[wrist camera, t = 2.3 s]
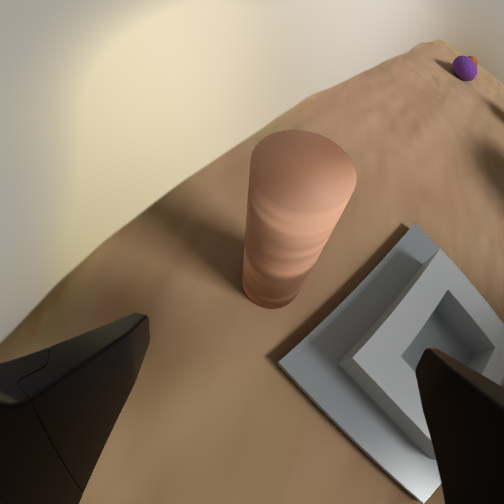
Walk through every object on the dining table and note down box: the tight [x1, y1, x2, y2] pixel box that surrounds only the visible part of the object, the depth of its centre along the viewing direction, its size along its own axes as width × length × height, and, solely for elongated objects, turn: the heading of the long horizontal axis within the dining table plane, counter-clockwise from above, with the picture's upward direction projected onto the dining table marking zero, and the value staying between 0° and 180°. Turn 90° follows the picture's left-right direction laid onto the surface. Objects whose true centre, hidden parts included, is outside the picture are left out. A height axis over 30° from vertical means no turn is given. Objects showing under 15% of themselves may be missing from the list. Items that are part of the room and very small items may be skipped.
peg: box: [242, 130, 357, 309], centre depth 18 cm, size 4×4×13 cm
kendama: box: [453, 56, 477, 81], centre depth 48 cm, size 6×6×20 cm
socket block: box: [277, 223, 504, 503], centre depth 19 cm, size 18×18×4 cm
